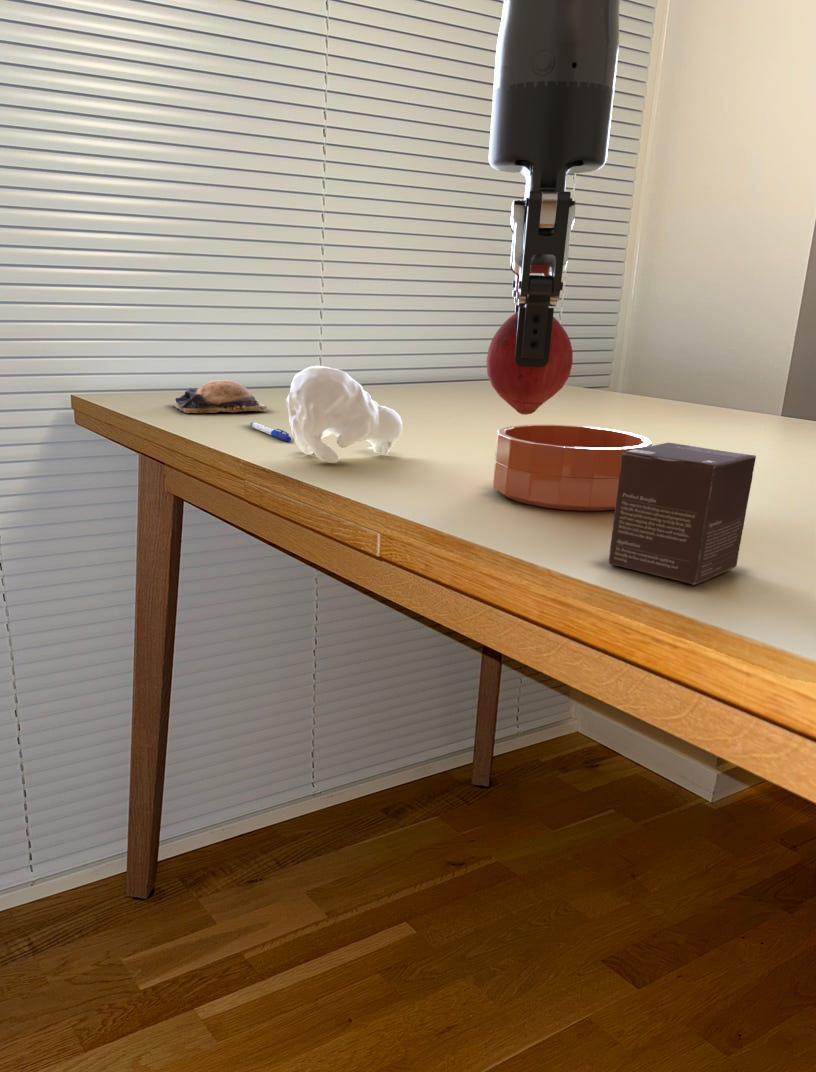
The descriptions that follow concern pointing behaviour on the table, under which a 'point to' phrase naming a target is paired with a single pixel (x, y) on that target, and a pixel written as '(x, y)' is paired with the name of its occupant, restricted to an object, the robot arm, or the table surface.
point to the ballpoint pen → (272, 432)
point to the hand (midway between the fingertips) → (528, 361)
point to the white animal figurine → (337, 414)
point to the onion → (527, 368)
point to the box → (680, 511)
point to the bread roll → (218, 398)
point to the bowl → (562, 465)
